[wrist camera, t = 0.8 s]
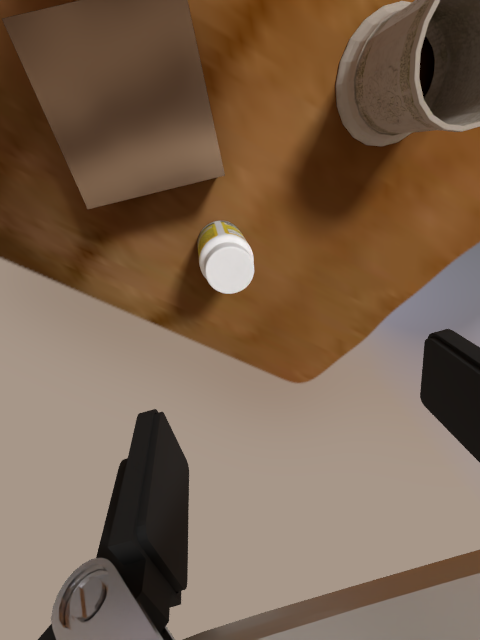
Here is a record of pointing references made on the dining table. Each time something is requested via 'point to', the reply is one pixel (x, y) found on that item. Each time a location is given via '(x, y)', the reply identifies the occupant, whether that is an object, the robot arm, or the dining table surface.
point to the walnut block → (121, 94)
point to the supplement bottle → (225, 257)
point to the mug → (411, 71)
